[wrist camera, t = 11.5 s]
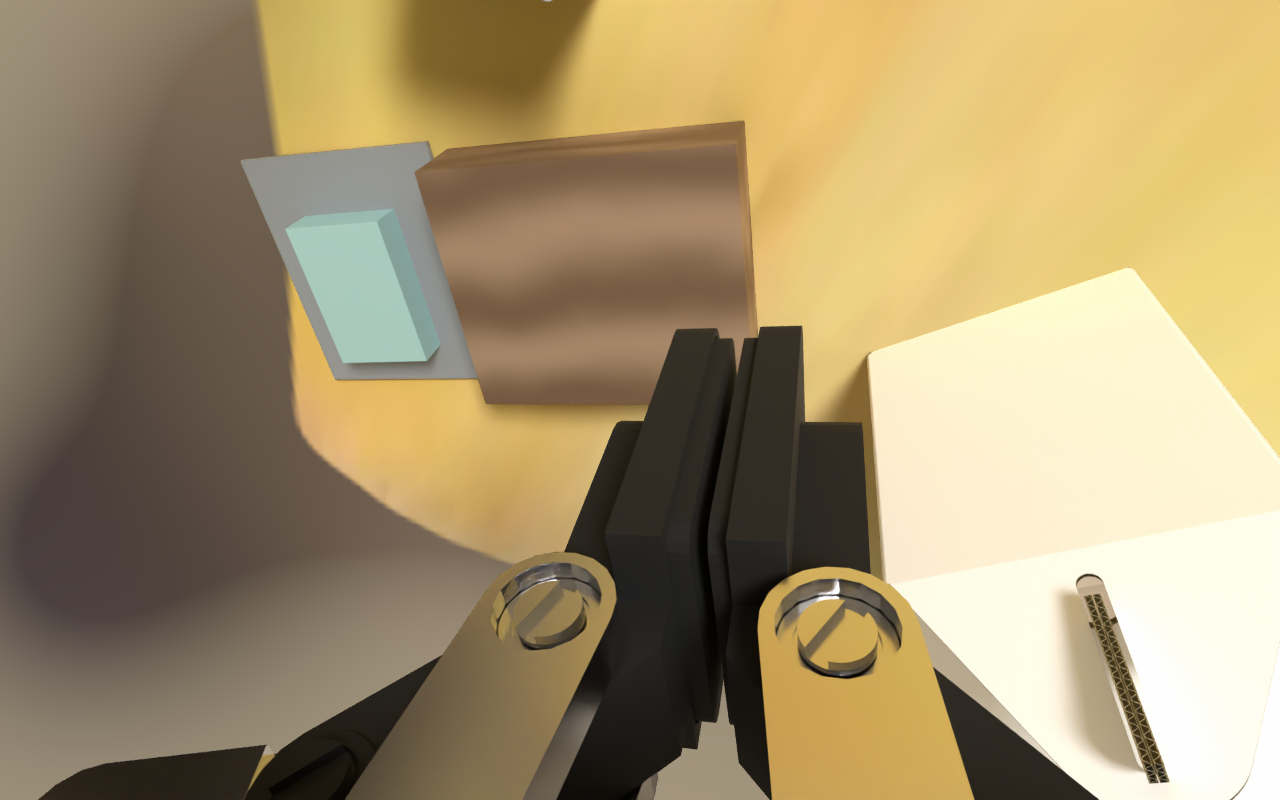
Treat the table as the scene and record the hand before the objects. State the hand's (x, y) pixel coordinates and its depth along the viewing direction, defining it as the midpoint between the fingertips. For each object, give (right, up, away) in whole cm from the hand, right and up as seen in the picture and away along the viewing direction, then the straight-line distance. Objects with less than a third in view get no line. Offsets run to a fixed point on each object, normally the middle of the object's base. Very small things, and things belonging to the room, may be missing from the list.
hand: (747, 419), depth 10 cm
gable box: (+22, -3, +33) cm, 40 cm away
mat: (-18, +8, +35) cm, 40 cm away
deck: (-3, +8, +31) cm, 33 cm away
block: (-18, +6, +34) cm, 39 cm away
